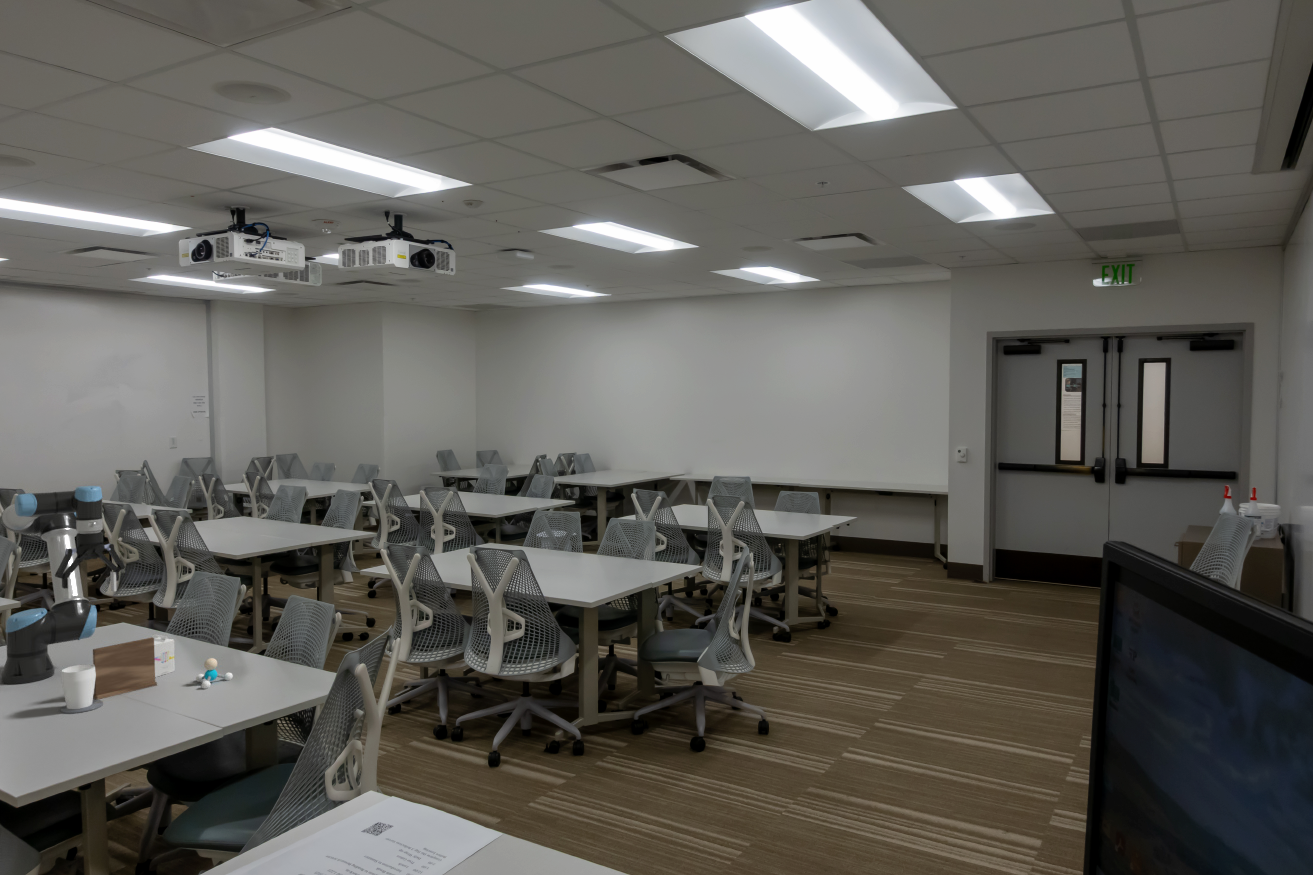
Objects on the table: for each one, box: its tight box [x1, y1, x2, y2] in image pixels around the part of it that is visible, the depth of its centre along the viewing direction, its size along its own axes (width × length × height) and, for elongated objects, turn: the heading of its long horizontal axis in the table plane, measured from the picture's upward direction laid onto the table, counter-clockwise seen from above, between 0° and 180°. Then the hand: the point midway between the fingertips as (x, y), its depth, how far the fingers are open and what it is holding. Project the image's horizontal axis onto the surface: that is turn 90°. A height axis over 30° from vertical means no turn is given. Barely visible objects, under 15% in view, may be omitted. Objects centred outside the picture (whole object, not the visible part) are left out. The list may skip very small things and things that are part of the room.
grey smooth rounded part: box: [60, 699, 104, 715], centre depth 272 cm, size 11×11×1 cm
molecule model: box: [195, 657, 234, 690], centre depth 296 cm, size 12×12×9 cm
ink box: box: [149, 634, 176, 678], centre depth 307 cm, size 9×8×13 cm
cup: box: [61, 663, 96, 710], centre depth 271 cm, size 9×9×12 cm
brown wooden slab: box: [92, 636, 158, 700], centre depth 287 cm, size 4×18×16 cm, turn 143°
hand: (91, 594), depth 292 cm, fingers open, 13 cm apart
